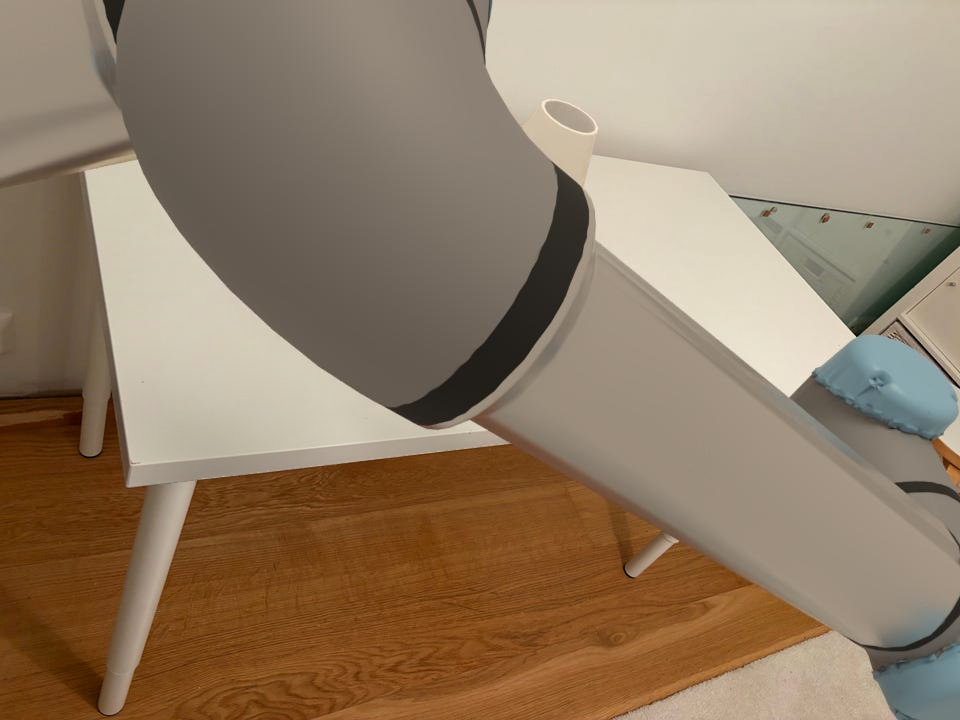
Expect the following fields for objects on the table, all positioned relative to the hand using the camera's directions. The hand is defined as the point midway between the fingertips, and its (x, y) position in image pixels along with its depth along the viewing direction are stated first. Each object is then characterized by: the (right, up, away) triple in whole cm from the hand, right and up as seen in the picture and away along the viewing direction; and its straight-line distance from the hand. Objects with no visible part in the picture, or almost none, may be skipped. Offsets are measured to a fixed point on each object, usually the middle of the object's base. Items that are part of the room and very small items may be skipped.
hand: (492, 242), depth 65 cm
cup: (+6, +14, +45) cm, 47 cm away
